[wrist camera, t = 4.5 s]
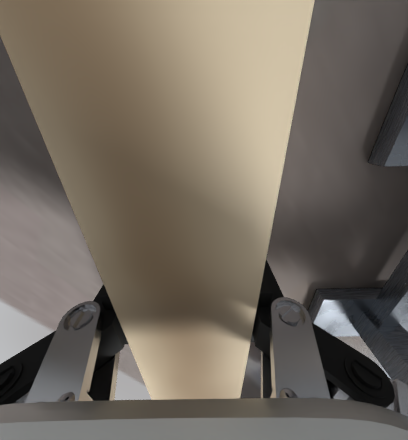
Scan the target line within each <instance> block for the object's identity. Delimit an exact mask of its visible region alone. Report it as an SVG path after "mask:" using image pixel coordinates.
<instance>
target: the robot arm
mask: <svg viewBox="0 0 408 440" xmlns="http://www.w3.org/2000/svg"><path fill="white" fill-rule="evenodd" d="M251 342H255V346H256V347H257V348H259V349H260V350H261V398H236V399H166V400H114V398H115V389H116V380H117V371H118V363H119V354H120V350H122V349H123V347H124V344H128V341H127V339H126V336H125V334H124V332H123V329H122V327H121V324H120V322H119V320H118V317H117V315H116V312H115V310H114V308H113V305H112V303H111V300H110V298H109V296H108V293H107V291H106V288H105V286H104V284H103V286H102V288H101V289H100V291H99V293H98V294H97V296H96V297H95V299H94V301H87V302H83V303H80V304H78V305H76V306H74V307H73V308H72V309H70V310H69V311H68V312H67V313H66V314H65V315H64V316H63V317H62V319H61V321H60V323H59V325H58V327H57V330H56V331H54V332H53V333H51V334H50V335H48V336H46V337H45V338H43V339H41V340H39V341H38V342H36V343H35V344H33V345H31V346H30V347H28V348H26V349H25V350H23V351H21V352H20V353H18V354H16V355H15V356H13V357H11V358H10V359H8V360H7V361H5V362H3V363H2V364H0V440H408V385H407V384H405V383H404V382H402V381H400V380H398V379H395V380H392V379H390V378H388V377H387V375H386V374H385V372H384V371H383V370H382V369H381V368H380V367H379V366H378V365H377V364H376V363H375V362H373V361H372V360H371V359H369V358H368V357H366V356H365V355H363V354H362V353H360V352H358V351H357V350H355V349H354V348H352V347H350V346H349V345H347V344H346V343H344V342H342V341H341V340H339V339H338V338H336V337H334V336H333V335H331V334H330V333H328V332H326V331H325V330H323V329H322V328H320V327H319V326H317V325H315V324H314V323H312V322H311V319H310V316H309V313H308V311H307V310H306V309H305V307H304V306H303V305H301V304H300V303H299V302H297V301H295V300H294V299H291V298H287V297H284V296H283V294H282V292H281V290H280V288H279V286H278V284H277V281H276V279H275V277H274V275H273V273H272V271H271V269H270V266H269V264H268V262H267V260H266V262H265V268H264V273H263V278H262V284H261V289H260V294H259V300H258V305H257V310H256V316H255V321H254V326H253V332H252V337H251Z"/></svg>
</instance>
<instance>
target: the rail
mask: <svg viewBox="0 0 408 440" xmlns="http://www.w3.org/2000/svg"><path fill="white" fill-rule="evenodd" d="M314 1H315V0H0V36H1V39H2V41H3V43H4V46H5V48H6V51H7V53H8V55H9V58H10V60H11V63H12V65H13V67H14V70H15V72H16V75H17V77H18V79H19V82H20V84H21V87H22V89H23V91H24V94H25V96H26V99H27V101H28V103H29V106H30V108H31V111H32V113H33V115H34V118H35V120H36V123H37V125H38V127H39V130H40V132H41V135H42V137H43V139H44V142H45V144H46V147H47V149H48V151H49V154H50V156H51V159H52V161H53V163H54V166H55V168H56V171H57V173H58V176H59V178H60V180H61V183H62V185H63V188H64V190H65V192H66V195H67V197H68V200H69V202H70V204H71V207H72V209H73V212H74V214H75V216H76V219H77V221H78V224H79V226H80V228H81V231H82V233H83V236H84V238H85V240H86V243H87V245H88V248H89V250H90V252H91V255H92V257H93V260H94V262H95V264H96V267H97V269H98V272H99V274H100V276H101V279H102V281H103V284H104V286H105V288H106V291H107V293H108V296H109V298H110V300H111V303H112V305H113V308H114V310H115V312H116V315H117V317H118V320H119V322H120V324H121V327H122V329H123V332H124V334H125V336H126V339H127V341H128V344H129V346H130V348H131V351H132V353H133V356H134V358H135V360H136V363H137V365H138V368H139V370H140V372H141V375H142V377H143V380H144V382H145V384H146V387H147V389H148V391H149V394H150V396H151V399H152V400H166V399H236V398H240V396H241V390H242V385H243V380H244V374H245V369H246V364H247V358H248V353H249V348H250V342H251V337H252V332H253V326H254V321H255V316H256V310H257V305H258V300H259V294H260V289H261V284H262V278H263V273H264V268H265V262H266V257H267V251H268V246H269V241H270V235H271V230H272V225H273V219H274V214H275V209H276V203H277V198H278V193H279V187H280V182H281V177H282V171H283V166H284V161H285V155H286V150H287V145H288V139H289V134H290V129H291V123H292V118H293V113H294V107H295V102H296V97H297V91H298V86H299V81H300V75H301V70H302V65H303V59H304V54H305V49H306V43H307V38H308V33H309V27H310V22H311V17H312V11H313V6H314Z"/></svg>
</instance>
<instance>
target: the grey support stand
mask: <svg viewBox="0 0 408 440" xmlns="http://www.w3.org/2000/svg"><path fill="white" fill-rule="evenodd" d="M368 163H372V164H376V165H380V166H408V64H407V67H406V69H405V72H404V74H403V77H402V79H401V82H400V84H399V87H398V89H397V92H396V94H395V97H394V99H393V102H392V104H391V106H390V109H389V111H388V114H387V116H386V119H385V121H384V124H383V126H382V129H381V131H380V134H379V136H378V139H377V141H376V144H375V146H374V149H373V151H372V154H371V156H370V159H369V161H368ZM308 313H309V316H310V319H311V322H312V323H314V324H315V325H317V326H319V327H320V328H322V329H323V330H325V331H326V332H328V333H330V334H331V335H333V336H360V337H361V338H362V339H363V341H364V342H365V343H366V345H367V346H368V347H369V349H370V350H371V351H372V353H373V354H374V356H375V357H376V358H377V360H378V361H379V362H380V364H381V365H382V366H383V368H384V369H385V370H386V372H387V373H388V375H389V376H390V377H391V379H392V380H395V379H398V380H400V381H402V382H404V383H405V384H407V385H408V251H407V252H406V254H405V255H404V257H403V258H402V260H401V261H400V263H399V264H398V266H397V267H396V269H395V270H394V272H393V273H392V275H391V276H390V278H389V279H388V281H387V282H386V284H385V285H384V287H383V288H361V289H317V290H316V292H315V295H314V297H313V300H312V302H311V305H310V307H309V310H308Z"/></svg>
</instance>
